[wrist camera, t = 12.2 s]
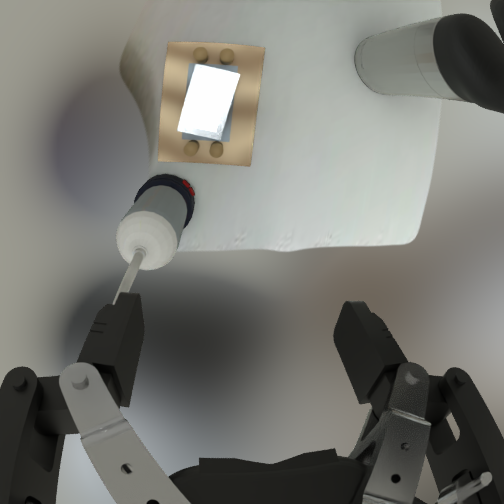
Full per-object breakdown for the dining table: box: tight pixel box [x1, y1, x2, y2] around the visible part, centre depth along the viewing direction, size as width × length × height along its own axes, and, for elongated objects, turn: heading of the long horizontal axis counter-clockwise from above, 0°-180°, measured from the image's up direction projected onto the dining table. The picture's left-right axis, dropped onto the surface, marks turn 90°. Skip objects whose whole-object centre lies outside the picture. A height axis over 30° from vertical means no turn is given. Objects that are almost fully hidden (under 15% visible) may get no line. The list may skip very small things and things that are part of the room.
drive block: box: [177, 64, 240, 140], centre depth 30 cm, size 5×8×4 cm, turn 163°
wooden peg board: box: [158, 42, 265, 166], centre depth 31 cm, size 16×12×5 cm
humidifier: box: [113, 174, 195, 305], centre depth 28 cm, size 8×8×25 cm
